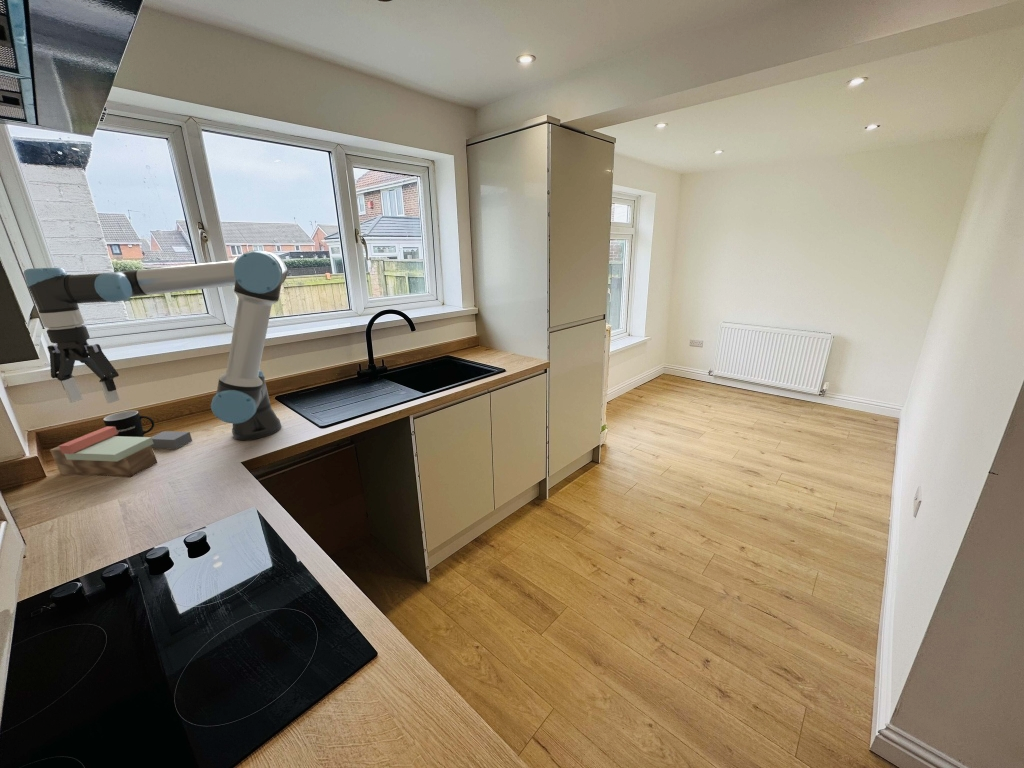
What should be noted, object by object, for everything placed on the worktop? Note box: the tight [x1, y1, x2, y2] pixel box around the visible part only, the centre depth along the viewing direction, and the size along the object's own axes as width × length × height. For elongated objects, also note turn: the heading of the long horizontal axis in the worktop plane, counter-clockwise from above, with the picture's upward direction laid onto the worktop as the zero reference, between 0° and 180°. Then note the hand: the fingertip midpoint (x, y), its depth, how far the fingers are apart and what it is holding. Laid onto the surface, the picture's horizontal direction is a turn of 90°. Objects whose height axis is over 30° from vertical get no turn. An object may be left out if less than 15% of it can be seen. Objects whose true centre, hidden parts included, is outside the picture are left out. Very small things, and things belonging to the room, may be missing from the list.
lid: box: [65, 436, 154, 461], centre depth 121 cm, size 17×11×2 cm, turn 83°
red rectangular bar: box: [58, 426, 118, 454], centre depth 121 cm, size 3×13×2 cm, turn 173°
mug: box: [102, 410, 155, 437], centre depth 140 cm, size 12×9×10 cm
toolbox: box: [49, 445, 158, 478], centre depth 122 cm, size 24×8×8 cm, turn 83°
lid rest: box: [150, 430, 193, 450], centre depth 137 cm, size 10×6×4 cm, turn 83°
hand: (95, 401), depth 116 cm, fingers open, 12 cm apart
